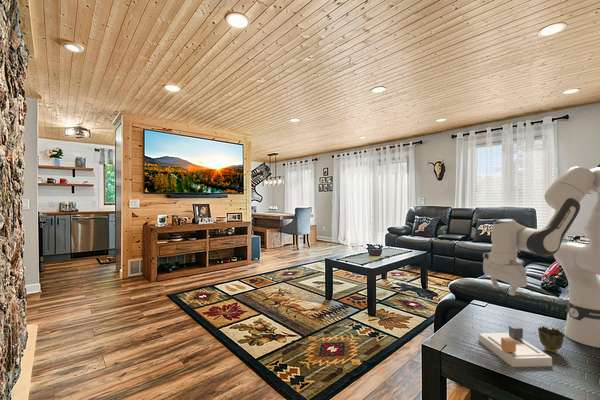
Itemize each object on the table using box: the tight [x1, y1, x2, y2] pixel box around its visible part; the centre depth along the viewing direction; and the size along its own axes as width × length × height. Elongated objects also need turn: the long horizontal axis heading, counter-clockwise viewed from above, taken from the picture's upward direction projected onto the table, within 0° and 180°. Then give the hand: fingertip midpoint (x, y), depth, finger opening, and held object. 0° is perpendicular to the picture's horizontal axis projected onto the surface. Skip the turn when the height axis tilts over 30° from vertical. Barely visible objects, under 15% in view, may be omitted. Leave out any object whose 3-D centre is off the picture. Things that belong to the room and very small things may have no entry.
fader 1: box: [501, 338, 516, 352], centre depth 102 cm, size 4×2×4 cm, turn 91°
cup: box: [537, 325, 565, 354], centre depth 107 cm, size 8×7×8 cm
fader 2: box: [508, 325, 524, 340], centre depth 112 cm, size 4×2×4 cm, turn 91°
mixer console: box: [478, 332, 553, 368], centre depth 107 cm, size 14×18×3 cm
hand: (503, 291), depth 118 cm, fingers open, 8 cm apart
